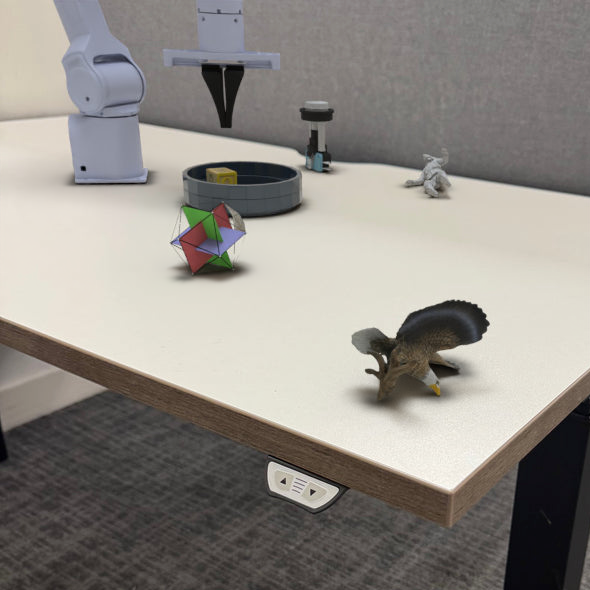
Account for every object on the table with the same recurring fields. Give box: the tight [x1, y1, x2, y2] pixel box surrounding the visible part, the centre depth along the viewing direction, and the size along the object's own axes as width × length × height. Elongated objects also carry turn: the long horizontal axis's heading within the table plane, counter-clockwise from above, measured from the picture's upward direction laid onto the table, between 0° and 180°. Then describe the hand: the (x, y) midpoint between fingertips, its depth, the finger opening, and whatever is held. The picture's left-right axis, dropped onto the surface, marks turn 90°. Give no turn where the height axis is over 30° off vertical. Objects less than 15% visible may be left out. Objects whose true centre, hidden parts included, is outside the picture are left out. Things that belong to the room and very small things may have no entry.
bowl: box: [181, 160, 303, 218], centre depth 103 cm, size 15×15×4 cm
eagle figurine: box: [351, 299, 491, 402], centre depth 57 cm, size 8×7×9 cm
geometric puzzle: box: [169, 202, 248, 275], centre depth 79 cm, size 7×7×8 cm
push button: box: [298, 100, 335, 173], centre depth 123 cm, size 7×5×10 cm
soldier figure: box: [404, 148, 452, 198], centre depth 116 cm, size 8×5×12 cm
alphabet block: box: [206, 167, 237, 185], centre depth 106 cm, size 3×3×3 cm
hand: (226, 127), depth 104 cm, fingers closed
